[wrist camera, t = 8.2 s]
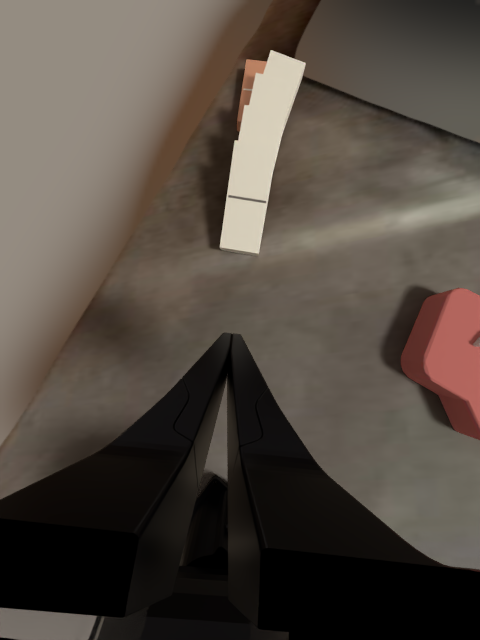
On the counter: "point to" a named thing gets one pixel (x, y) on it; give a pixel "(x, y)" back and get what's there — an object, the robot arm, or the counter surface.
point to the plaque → (449, 355)
